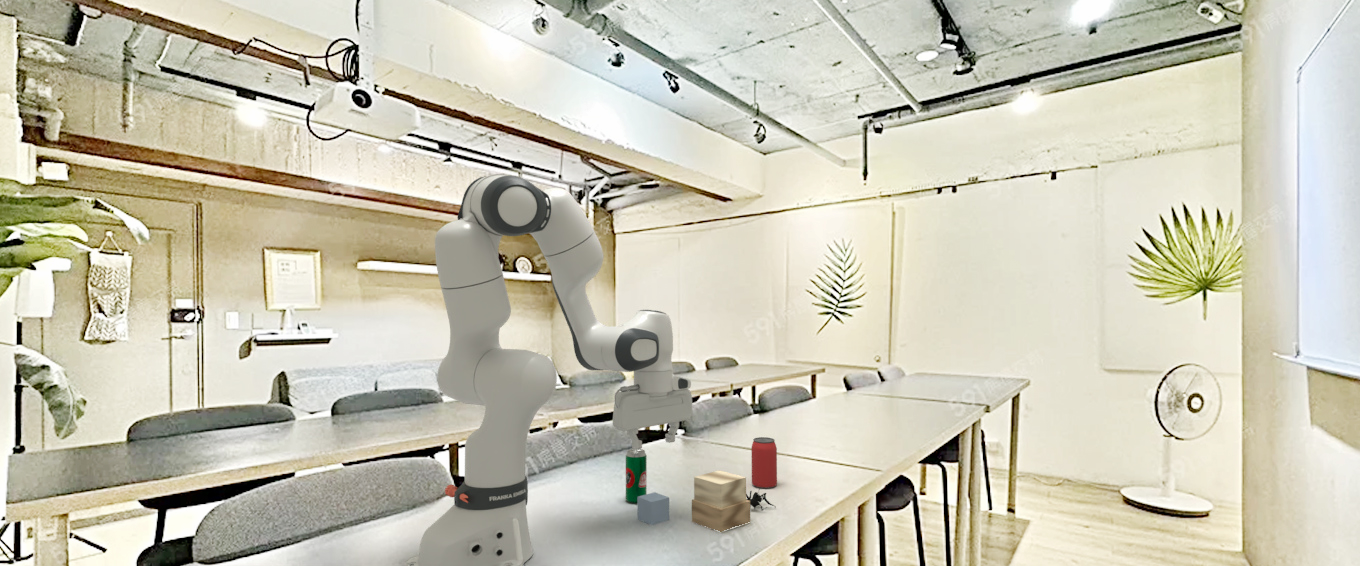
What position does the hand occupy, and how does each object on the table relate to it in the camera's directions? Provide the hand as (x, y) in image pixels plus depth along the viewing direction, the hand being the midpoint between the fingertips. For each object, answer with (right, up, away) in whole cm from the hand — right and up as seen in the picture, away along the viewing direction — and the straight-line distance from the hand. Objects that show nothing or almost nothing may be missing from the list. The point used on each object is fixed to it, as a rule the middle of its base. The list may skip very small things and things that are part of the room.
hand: (653, 445), depth 137 cm
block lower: (+15, -16, -3) cm, 22 cm away
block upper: (+15, -11, -3) cm, 19 cm away
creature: (+24, -17, +7) cm, 30 cm away
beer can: (+28, -17, +25) cm, 41 cm away
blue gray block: (0, -16, -1) cm, 16 cm away
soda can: (-5, -17, +12) cm, 22 cm away
